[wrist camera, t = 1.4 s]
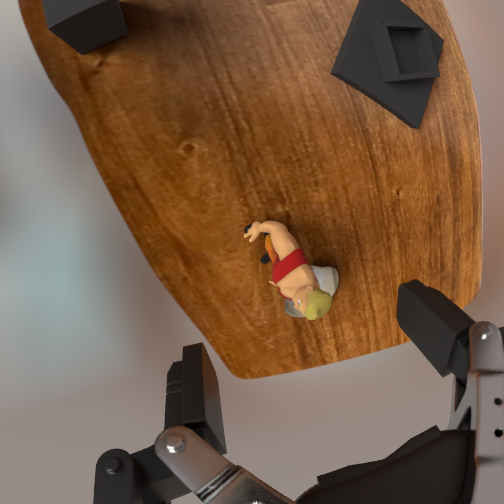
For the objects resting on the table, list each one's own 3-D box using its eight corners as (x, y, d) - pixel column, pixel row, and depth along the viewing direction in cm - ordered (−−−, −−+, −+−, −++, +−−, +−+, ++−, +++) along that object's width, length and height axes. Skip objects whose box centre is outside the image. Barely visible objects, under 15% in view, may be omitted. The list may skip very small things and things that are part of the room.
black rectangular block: (81, 55, 22) (47, 29, 13) (72, 22, 20) (39, -12, 11) (129, 33, 22) (113, -3, 13) (119, 1, 20) (103, -42, 11)
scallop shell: (294, 309, 43) (344, 281, 41) (300, 326, 40) (352, 298, 38) (265, 278, 38) (321, 245, 36) (270, 297, 35) (330, 263, 33)
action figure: (230, 214, 33) (276, 281, 20) (258, 198, 33) (323, 253, 20) (265, 278, 37) (319, 361, 24) (291, 263, 37) (355, 338, 24)
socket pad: (330, 73, 29) (349, 69, 26) (366, -18, 24) (384, -27, 21) (411, 127, 34) (432, 131, 31) (436, 41, 30) (456, 39, 26)
